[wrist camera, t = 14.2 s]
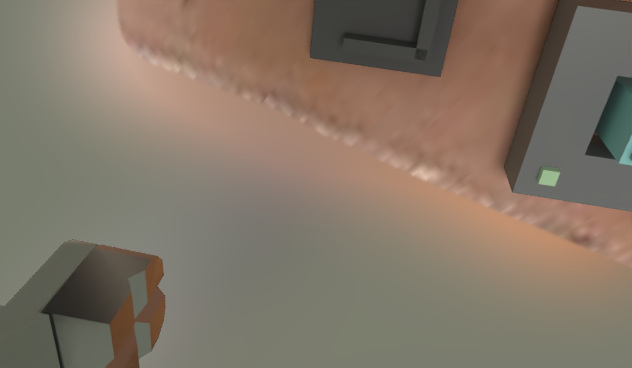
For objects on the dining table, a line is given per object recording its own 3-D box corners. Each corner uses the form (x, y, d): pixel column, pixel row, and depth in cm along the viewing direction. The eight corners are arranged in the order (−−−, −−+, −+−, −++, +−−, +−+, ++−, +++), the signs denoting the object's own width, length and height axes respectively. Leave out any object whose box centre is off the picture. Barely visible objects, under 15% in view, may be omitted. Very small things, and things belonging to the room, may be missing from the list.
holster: (326, -89, 36) (321, -86, 34) (472, -70, 36) (477, -66, 34) (311, 53, 42) (306, 64, 39) (439, 72, 41) (441, 83, 39)
